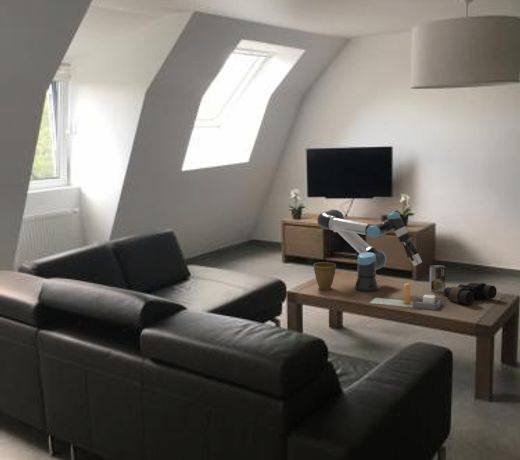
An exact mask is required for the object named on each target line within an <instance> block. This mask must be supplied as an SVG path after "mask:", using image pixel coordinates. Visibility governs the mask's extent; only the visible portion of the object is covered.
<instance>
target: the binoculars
mask: <svg viewBox="0 0 520 460" xmlns="http://www.w3.org/2000/svg"><path fill="white" fill-rule="evenodd" d="M497 292H498V291H497V287H496V286H495V285H491V284H486V283H484V282H469V283H468V284H462V283H460V284H459V285H458V286H452V287H449V286H447V287H445V290H444V292H443V295H444V297H445V298H447V299H448V300H449V301H450V302H453V303H456V304H460V305H463V304H464V305H469V306H470V305H472V304H473V303H474V302H475V299H476V300H479V301H480V300H485V299H492V300H493V299H495V297H496V295H497Z"/></svg>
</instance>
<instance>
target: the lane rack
mask: <svg viewBox="0 0 520 460" xmlns="http://www.w3.org/2000/svg"><path fill="white" fill-rule="evenodd" d="M421 302H423V297H416V301H414V302H413V303H410V304H409V305H406V304H404V299H403V300H402V299H393V298H385V297H384V298H383V297H382V298H381V297H374V299H372V300H371V301H369V304H370V305H371V304H372V305H376V304H377V305H378V304H380V305H387V306H398V307H405V308H415V309H422V310H423V309H425V310H433V311H438V310H439V308H440V307H441V306H442V299H438V298H435V304H430V303H421Z"/></svg>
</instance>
